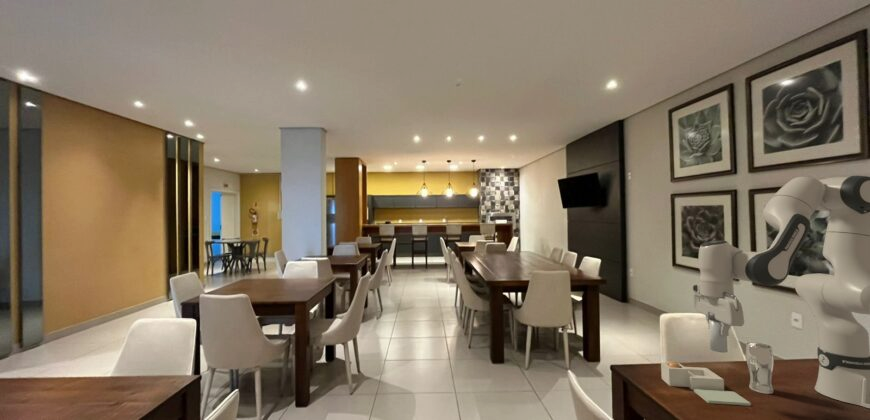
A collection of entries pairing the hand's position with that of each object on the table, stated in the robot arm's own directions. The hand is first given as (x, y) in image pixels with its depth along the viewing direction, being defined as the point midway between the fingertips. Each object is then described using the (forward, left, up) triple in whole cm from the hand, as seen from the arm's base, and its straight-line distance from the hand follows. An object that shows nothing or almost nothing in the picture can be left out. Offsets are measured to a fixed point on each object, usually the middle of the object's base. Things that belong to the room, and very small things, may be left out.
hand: (718, 332), depth 117 cm
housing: (+4, -10, -21) cm, 24 cm away
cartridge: (0, 0, -6) cm, 6 cm away
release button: (+9, -10, -18) cm, 23 cm away
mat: (0, 0, -21) cm, 21 cm away
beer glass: (-17, -8, -21) cm, 28 cm away
